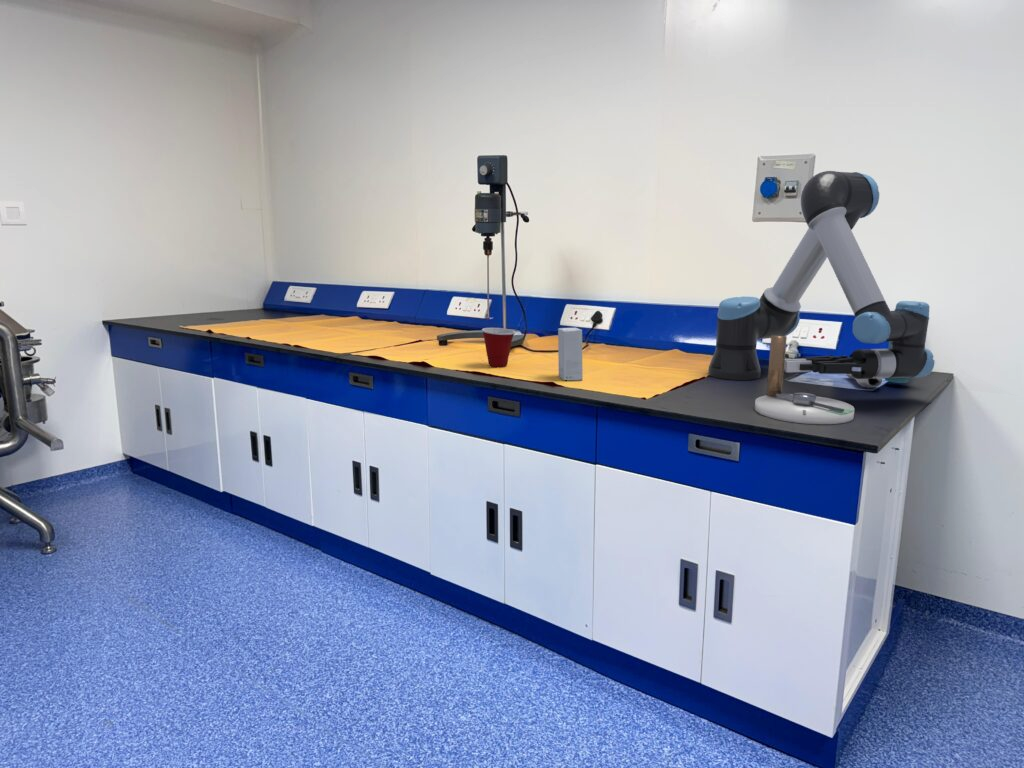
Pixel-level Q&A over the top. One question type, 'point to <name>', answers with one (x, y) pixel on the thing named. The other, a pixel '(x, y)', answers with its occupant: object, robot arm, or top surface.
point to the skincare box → (570, 353)
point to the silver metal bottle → (867, 381)
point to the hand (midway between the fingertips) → (783, 365)
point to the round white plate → (804, 410)
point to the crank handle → (777, 376)
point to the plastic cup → (498, 345)
